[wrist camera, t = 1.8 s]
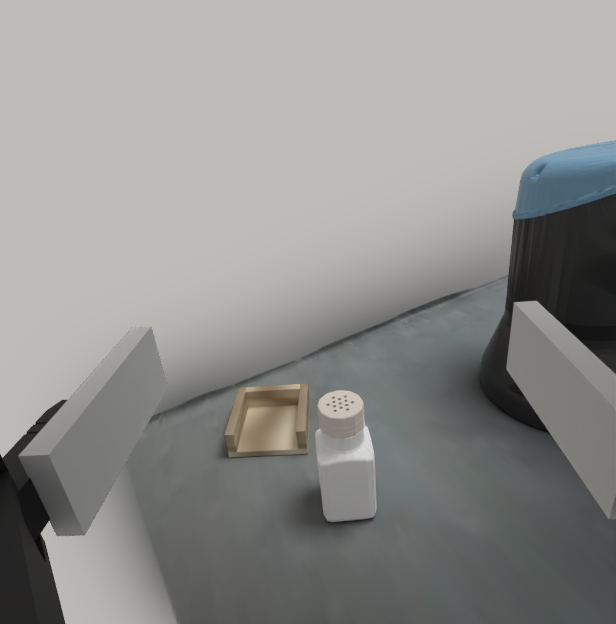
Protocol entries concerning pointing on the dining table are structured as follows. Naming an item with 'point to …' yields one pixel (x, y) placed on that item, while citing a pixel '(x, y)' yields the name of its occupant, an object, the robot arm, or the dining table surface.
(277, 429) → the tray
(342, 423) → the pepper shaker
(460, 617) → the dining table surface
